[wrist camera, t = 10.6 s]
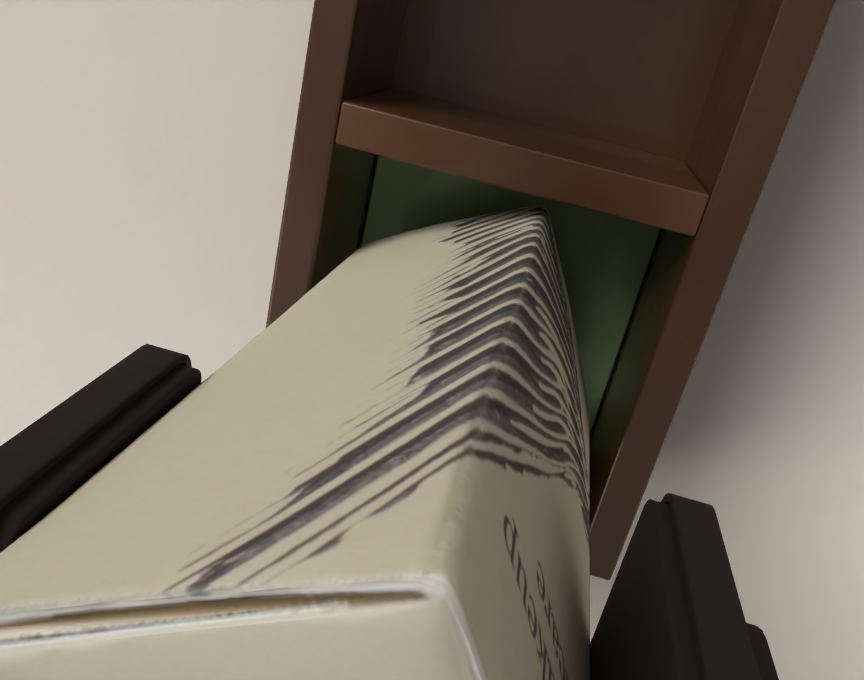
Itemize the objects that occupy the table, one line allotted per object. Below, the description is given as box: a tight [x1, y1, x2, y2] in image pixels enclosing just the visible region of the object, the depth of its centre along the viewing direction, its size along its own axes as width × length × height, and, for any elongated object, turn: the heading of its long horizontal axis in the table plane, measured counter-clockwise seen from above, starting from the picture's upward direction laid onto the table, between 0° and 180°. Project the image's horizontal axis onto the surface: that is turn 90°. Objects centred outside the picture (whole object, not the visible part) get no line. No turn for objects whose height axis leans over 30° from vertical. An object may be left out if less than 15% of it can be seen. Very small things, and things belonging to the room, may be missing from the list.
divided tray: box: [266, 0, 836, 580], centre depth 16 cm, size 8×16×5 cm, turn 167°
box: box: [0, 204, 590, 680], centre depth 12 cm, size 5×4×13 cm
